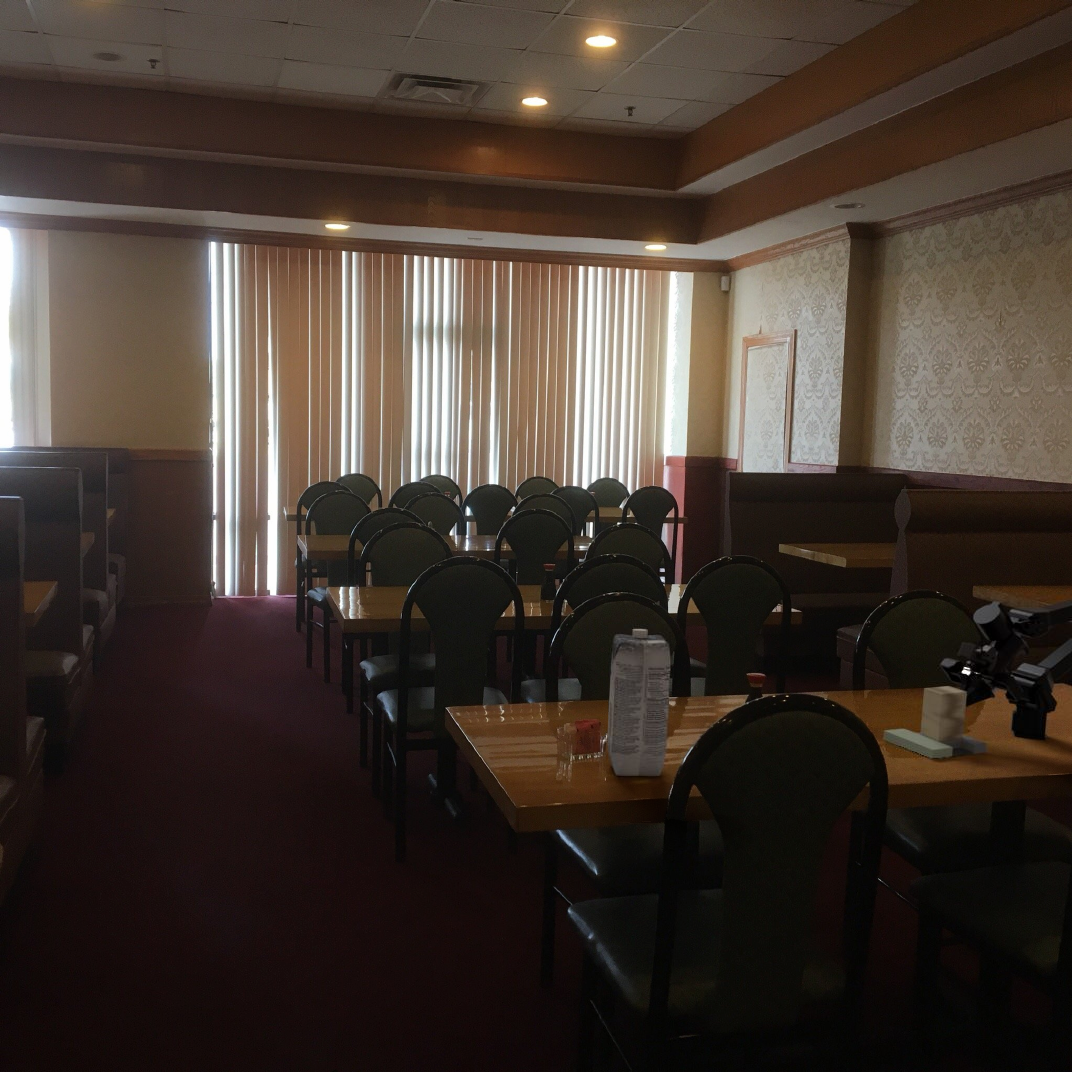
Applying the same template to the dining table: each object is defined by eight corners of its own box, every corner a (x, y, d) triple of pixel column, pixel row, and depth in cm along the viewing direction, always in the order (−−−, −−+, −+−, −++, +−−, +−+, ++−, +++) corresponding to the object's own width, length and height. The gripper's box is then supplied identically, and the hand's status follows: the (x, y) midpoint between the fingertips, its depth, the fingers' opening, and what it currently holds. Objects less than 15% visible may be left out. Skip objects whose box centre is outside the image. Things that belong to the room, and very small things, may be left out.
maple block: (945, 731, 236) (948, 686, 234) (962, 737, 231) (966, 691, 230) (920, 734, 233) (924, 688, 232) (938, 740, 228) (941, 694, 227)
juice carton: (667, 778, 203) (674, 636, 200) (611, 778, 202) (618, 635, 199) (658, 763, 212) (665, 627, 209) (604, 762, 211) (611, 625, 208)
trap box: (936, 733, 241) (936, 724, 240) (986, 752, 228) (986, 743, 228) (883, 739, 234) (884, 730, 234) (931, 759, 222) (932, 749, 222)
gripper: (949, 621, 242) (907, 673, 238) (1018, 638, 225) (974, 694, 221) (972, 655, 246) (931, 706, 242) (1042, 674, 229) (998, 729, 225)
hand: (957, 708), depth 233 cm, fingers closed
